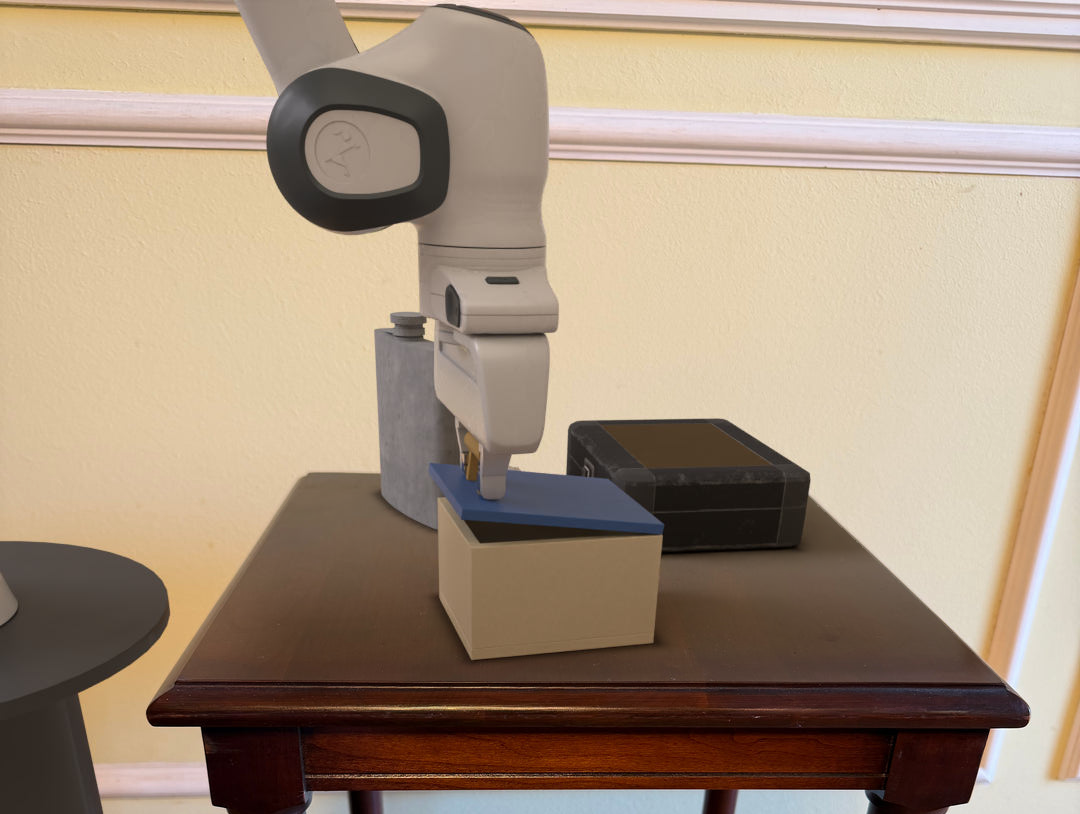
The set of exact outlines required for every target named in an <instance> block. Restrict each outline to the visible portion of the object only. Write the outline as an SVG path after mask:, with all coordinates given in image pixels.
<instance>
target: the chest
mask: <svg viewBox="0 0 1080 814" xmlns="http://www.w3.org/2000/svg"><path fill="white" fill-rule="evenodd" d="M437 537H438V538H437V542H438V543H437V544H438V547H437V548H438V589H439V591H438V592H439V593H438V595H439V596H438V597H439V599H440V602H441V604H442V606H443V608H444V610H445V612H446V614H447V616H448V617H449V619H450V622H451V623H452V625H453V627H454V629H455V631H456V633H457V635H458V637H459V639H460V641H461V643H462V645H463V646H464V648H465V650H466V653H467V654H468V656H469V658H470V660H471V661H476V660H486V659H499V658H508V657H510V658H511V657H521V656H530V655H531V656H532V655H540V654H550V653H551V654H552V653H562V652H563V653H564V652H572V651H582V650H593V649H605V648H615V647H626V646H636V645H637V646H638V645H647V644H654V640H655V639H654V637H655V625H656V615H657V605H658V604H657V603H658V594H659V593H658V592H659V582H660V572H661V571H660V570H661V559H662V553H661V549H662V538H663V535H661V534H648V533H635V532H621V531H608V530H594V529H581V528H567V527H553V526H540V525H526V524H513V523H499V522H486V521H472V520H461V519H460V517H459V516H458V514H457V513H456V511H455V510H454V508H453V507H452V506H451V504H450V503H449V501H448V500H447V498H446V497H442V498H438V530H437Z"/></svg>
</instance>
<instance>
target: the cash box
mask: <svg viewBox="0 0 1080 814" xmlns="http://www.w3.org/2000/svg"><path fill="white" fill-rule="evenodd" d="M566 444H567V446H566V466H565V467H566V469H565V470H566V471H565V475H570V476H581V477H592V478H603V479H609V480H610V481H611V482H612V483H614V484H615V485H616V486H617V487H619V488H620V489H621V490H622V491H624V492H625V493H626V494H627V495H628V496H630V497H631V498H632V499H633V500H635V501H636V502H637V503H638V504H640V505H641V506H642V507H643V508H644V509H646V510H647V511H648V512H649V513H651V514H652V515H653V516H654V517H656V518H657V519H658V520H659V521H660V522H662V523H663V524H664V528H663V533H662V534H661V535H663V538H662V549H661V554H663V553H684V552H685V553H686V552H687V553H688V552H712V551H732V550H733V551H735V550H736V551H737V550H760V549H761V550H762V549H782V548H783V549H785V548H792V547H795V546H798V545H801V542H802V539H803V532H804V527H805V526H804V525H805V519H806V513H807V506H808V500H809V495H810V494H809V493H810V488H811V479H812V478H811V473H810V472H809V471H807V470H806V469H804V468H803V467H802V466H800V465H798V464H797V463H795V462H793V461H792V460H790V459H789V458H788V457H786V456H784V455H783V454H781V453H780V452H778V451H777V450H775V449H774V448H772V447H770V446H769V445H767V444H765V443H764V442H762V441H761V440H759V439H757V438H756V437H755V436H753V435H751V434H750V433H748V432H747V431H745V430H743V429H742V428H740V427H738V426H737V425H735V424H734V423H733V422H731V421H729V420H728V419H725V418H656V419H655V418H654V419H652V418H651V419H650V418H649V419H646V418H645V419H595V420H594V419H591V420H589V419H588V420H575V421H573V422H572V423H570V424H569V426H568V429H567V443H566Z"/></svg>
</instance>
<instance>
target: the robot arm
mask: <svg viewBox="0 0 1080 814" xmlns="http://www.w3.org/2000/svg"><path fill="white" fill-rule="evenodd" d="M233 2H234V4H235V6H236V9H237V10H238V12H239V15H240V16H241V18H242V20H243V23H244V25H245V26H246V29H247V31H248V33H249V35H250V37H251V39H252V41H253V43H254V45H255V47H256V50H257V51H258V53H259V56H260V57H261V59H262V62H263V64H264V66H265V68H266V70H267V72H268V74H269V76H270V78H271V81H272V82H273V85H274V88H275V90H276V93H277V96H278V98H277V100H276V101H275V103H274V105H273V107H272V110H271V112H270V115H269V118H268V122H267V129H266V139H265V142H266V143H265V147H266V156H267V162H268V167H269V169H270V173H271V176H272V178H273V181H274V183H275V185H276V187H277V189H278V191H279V193H280V194H281V195H282V197H283V199H284V200H285V201H286V202H287V204H288V205H289V206H290V207H291V208H292V209H293V210H294V211H295V212H296V213H297V214H298V215H299V216H301V217H302V218H303V219H305V220H306V221H307V222H309V223H311V224H312V225H314V226H316V227H317V228H319V229H321V230H324V231H326V232H329V233H333V234H337V235H341V236H360V235H361V236H362V235H367V234H372V233H379V232H381V231H383V230H384V231H385V230H387V229H388V228H391V227H393V226H394V225H398V224H411V225H412V226H413V227H414V228H415V230H416V233H417V263H418V264H417V271H418V303H419V305H418V307H419V308H418V309H419V310H418V311H419V313H420V314H421V315H422V316H424V317H427V319H430V320H431V319H432V320H434V330H433V331H434V337H433V342H434V385H435V392H436V396H437V398H438V399H439V400H440V401H441V402H442V403H443V404H444V405H445V406H446V407H447V409H448V410H449V411H450V412H451V413H452V414H453V415H454V416H455V427H456V432H457V438H458V443H459V448H460V468H461V471H462V472H463V473H464V474H465V475H466V473H467V465H468V457H469V449H468V447H467V446H466V445H465V435H466V434H467V432H470V433H471V434H472V435H473V436H474V437H475V438H476V440H477V441H478V442H479V452H481V456H480V461H479V463H478V471H477V477H478V491H479V493H480V494H481V496H482V497H483V498H485V499H486V500H488V499H501V498H503V497H504V496H505V491H506V474H507V470H508V466H510V463H511V459H512V456H513V455H526V454H534V453H536V452H537V451H538V449H539V447H540V446H541V445H540V444H541V442H542V439H543V436H544V431H545V425H546V415H547V404H548V394H549V393H548V392H549V381H550V365H551V352H550V351H551V349H550V341H549V338H548V336H547V335H546V334H553V333H556V332H557V331H558V329H559V322H560V321H559V319H560V304H559V300H558V297H557V296H556V295H557V294H556V293H555V292H554V290H553V288H552V286H551V284H550V281H549V279H548V278H549V277H548V275H549V274H548V269H547V245H548V242H547V234H546V230H545V229H546V228H545V225H544V220H543V208H542V206H543V198H544V192H545V189H546V185H547V181H548V177H549V170H550V105H549V103H550V102H549V87H548V77H547V70H546V64H545V59H544V55H543V52H542V49H541V46H540V45H539V43H538V42H537V40H536V39H535V37H534V35H533V34H532V33H531V32H530V31H529V30H528V29H527V28H526V27H525V26H524V25H522V24H521V23H519V22H518V21H516V20H515V19H511V18H509V17H507V16H506V15H503V14H499V13H496V12H494V11H490V10H486V9H483V8H480V7H479V8H478V7H476V6H470V5H464V4H459V5H457V4H456V3H438V4H435V5H429V6H428V7H426V8H425V9H424V10H423V11H422V12H421V14H419V16H417V17H416V19H415V20H413V22H411V23H410V24H409V25H406V27H404V28H403V29H401V30H400V31H399V32H397V33H395V34H394V35H392V36H390V37H388V38H387V39H385V40H384V41H382V42H380V43H378V44H376V45H374V46H372V47H370V48H368V49H366V50H364V51H361V52H360V51H359V49H358V47H357V46H356V43H355V42H354V40H353V38H352V35H351V34H350V32H349V29H348V27H347V25H346V22H345V21H344V18H343V15H342V13H341V11H340V8H339V7H338V4H337V1H336V0H233ZM17 608H18V601H17V599H16V598H15V596H14V595H13V593H12V591H11V590H10V588H9V586H8V585H7V583H6V581H5V579H4V578H3V576H2V574H1V572H0V626H1V625H2V624H4V623H5V622H7V621H8V620H9V619H10V618H11V617H12V616H13V615H14V614H15V612H16V611H17Z"/></svg>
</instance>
